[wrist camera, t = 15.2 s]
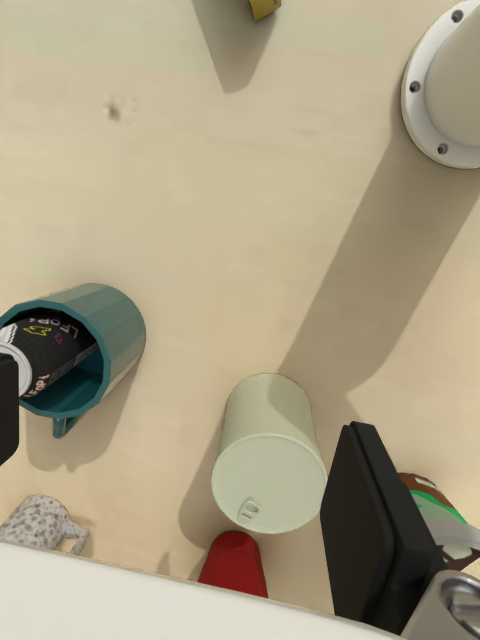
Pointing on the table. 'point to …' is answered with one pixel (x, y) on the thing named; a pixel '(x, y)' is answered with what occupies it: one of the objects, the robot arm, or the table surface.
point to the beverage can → (46, 348)
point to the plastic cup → (235, 565)
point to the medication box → (262, 7)
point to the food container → (444, 523)
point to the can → (268, 457)
